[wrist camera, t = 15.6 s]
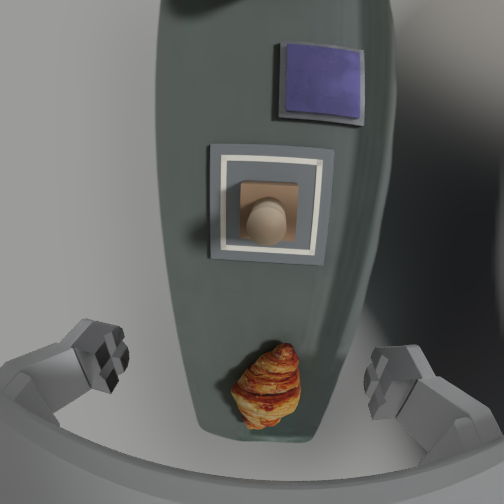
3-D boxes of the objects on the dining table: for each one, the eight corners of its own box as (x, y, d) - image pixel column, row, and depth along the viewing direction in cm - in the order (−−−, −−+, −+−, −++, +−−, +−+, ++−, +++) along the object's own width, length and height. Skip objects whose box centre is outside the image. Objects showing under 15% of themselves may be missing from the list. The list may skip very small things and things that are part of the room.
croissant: (268, 407, 48) (287, 440, 41) (218, 418, 43) (233, 454, 37) (304, 323, 39) (335, 361, 33) (239, 331, 35) (264, 377, 29)
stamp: (244, 180, 29) (232, 191, 22) (296, 182, 29) (303, 195, 22) (243, 229, 31) (232, 257, 24) (293, 232, 31) (298, 261, 24)
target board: (211, 143, 29) (210, 143, 28) (333, 149, 28) (334, 149, 27) (211, 256, 33) (210, 258, 33) (322, 263, 33) (323, 265, 32)
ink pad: (280, 42, 24) (280, 37, 22) (361, 52, 23) (365, 48, 22) (278, 118, 27) (278, 116, 26) (361, 126, 27) (366, 125, 25)
